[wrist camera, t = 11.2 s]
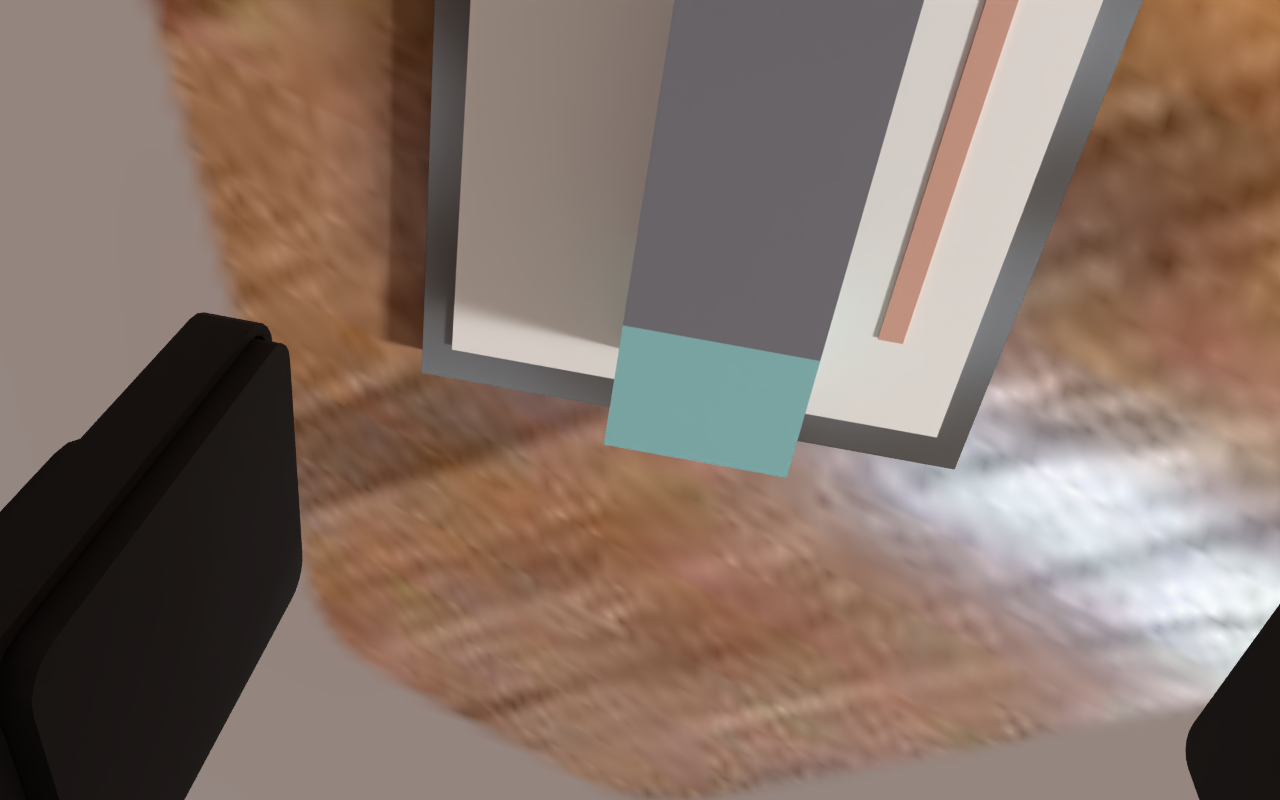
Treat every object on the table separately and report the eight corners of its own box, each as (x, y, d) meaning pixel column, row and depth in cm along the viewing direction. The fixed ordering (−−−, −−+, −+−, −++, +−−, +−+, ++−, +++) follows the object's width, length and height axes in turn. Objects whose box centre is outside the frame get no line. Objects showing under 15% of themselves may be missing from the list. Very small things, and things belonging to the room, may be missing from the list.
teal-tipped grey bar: (741, -363, 18) (734, -378, 15) (972, -322, 18) (1018, -328, 15) (625, 349, 26) (603, 444, 23) (785, 378, 26) (786, 478, 23)
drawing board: (465, -458, 19) (446, -469, 17) (1249, -319, 18) (1278, -321, 17) (432, 352, 28) (418, 378, 27) (949, 446, 28) (956, 476, 27)
